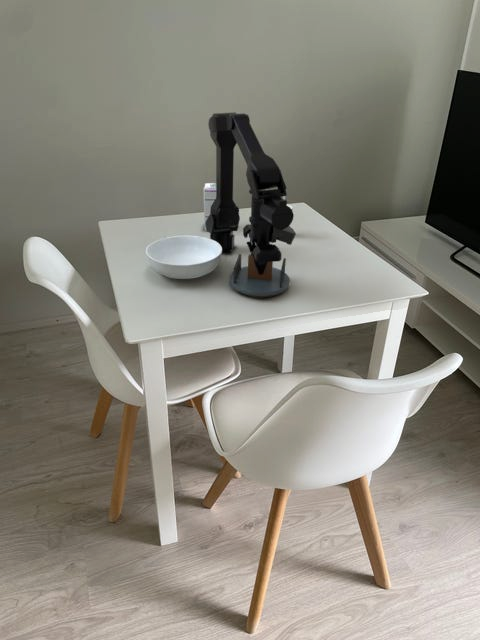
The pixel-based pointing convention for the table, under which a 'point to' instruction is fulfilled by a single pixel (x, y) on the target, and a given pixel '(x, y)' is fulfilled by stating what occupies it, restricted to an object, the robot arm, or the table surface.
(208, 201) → the syrup box
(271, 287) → the drying rack
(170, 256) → the serving bowl
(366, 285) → the table surface
